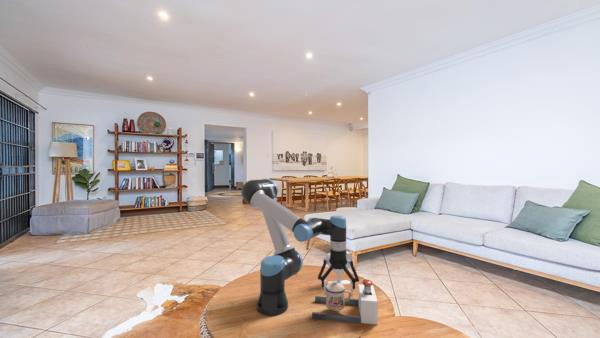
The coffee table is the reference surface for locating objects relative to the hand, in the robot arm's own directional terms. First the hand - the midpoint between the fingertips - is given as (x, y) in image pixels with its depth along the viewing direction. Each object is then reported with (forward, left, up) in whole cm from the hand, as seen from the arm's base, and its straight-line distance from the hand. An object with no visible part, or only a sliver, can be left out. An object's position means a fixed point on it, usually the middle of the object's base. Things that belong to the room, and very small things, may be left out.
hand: (338, 294), depth 126 cm
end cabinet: (+13, 0, -8) cm, 16 cm away
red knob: (+13, 0, 0) cm, 13 cm away
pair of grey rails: (-1, 0, -8) cm, 8 cm away
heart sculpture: (0, +32, -8) cm, 33 cm away
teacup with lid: (0, 0, -5) cm, 5 cm away
